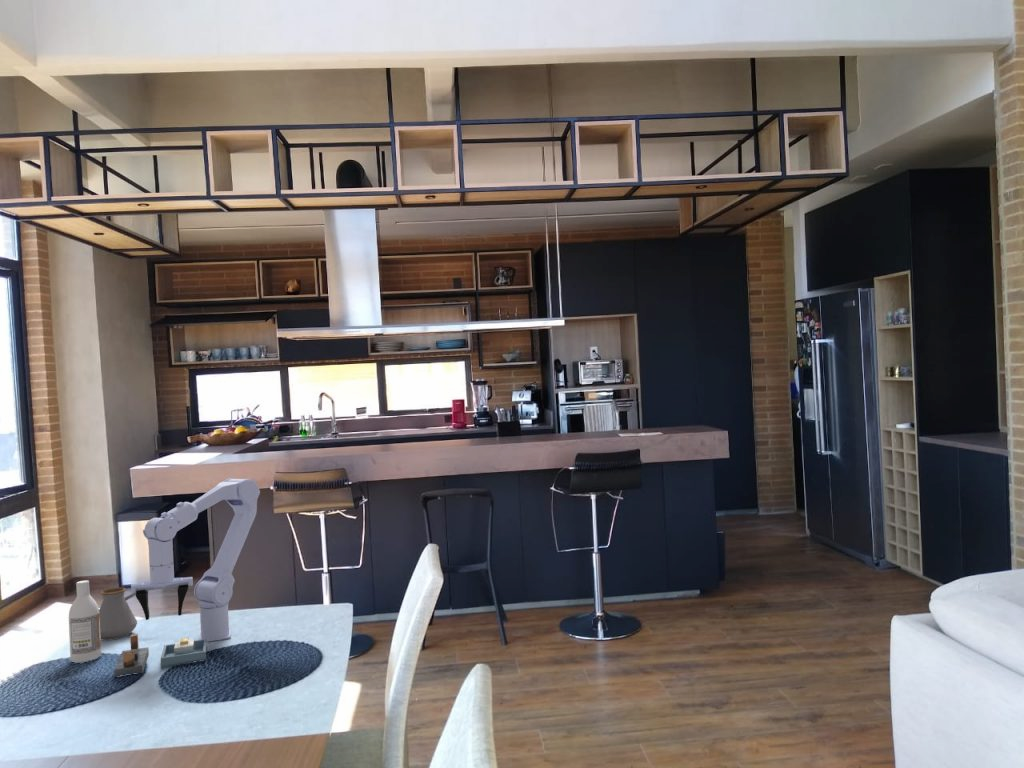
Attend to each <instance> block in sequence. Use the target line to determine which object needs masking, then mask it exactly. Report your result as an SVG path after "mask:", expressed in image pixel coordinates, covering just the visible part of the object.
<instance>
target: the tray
mask: <svg viewBox="0 0 1024 768" xmlns="http://www.w3.org/2000/svg"><path fill="white" fill-rule="evenodd" d="M194 645H195V652H194V653H188V654H182V655H175V656H174V646H175V643H171V644H164V645H163V649H162V652H161V656H160V668H161V669H167V668H171V667H177V666H176V665H179V666H181V665H180V664H184V663H189V662H194V661H200V660H205V659H206V660H207V655H206V653H207V654H208V642H207V639H204V640H199V639H197V640H194Z"/></svg>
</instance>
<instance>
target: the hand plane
mask: <svg viewBox="0 0 1024 768" xmlns="http://www.w3.org/2000/svg"><path fill="white" fill-rule="evenodd" d="M129 639H130V649H128V650H127V649H126V650H122V652H121V654H120V656H119V658H118V660H117V662H116V665H115V667H114V669H113V670H114V671H113V672H114V677H115V676H120V675H126V674H133V673H144V671H145V668H146V665H147V663H148V662H147V661H148V659H149V656H150V654H149V646H148V647H142V648H139V647H140V646H139V633H133V634H130V635H129ZM145 664H146V665H145ZM144 667H145V668H144ZM143 670H144V671H143Z"/></svg>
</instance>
